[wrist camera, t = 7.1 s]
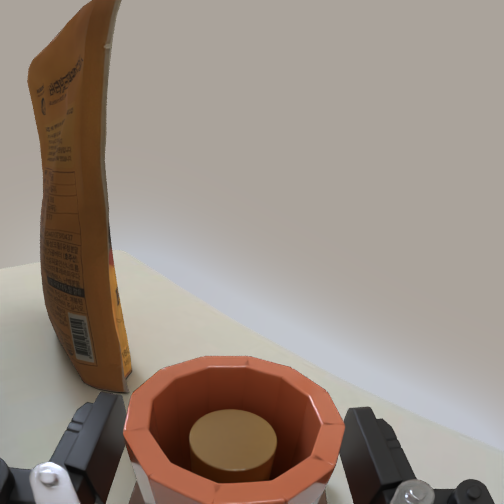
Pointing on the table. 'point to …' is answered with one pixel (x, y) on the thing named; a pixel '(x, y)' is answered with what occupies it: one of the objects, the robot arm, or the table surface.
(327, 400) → the faceted terracotta cup
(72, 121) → the pancake mix bag
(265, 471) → the ring stand
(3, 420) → the table surface
